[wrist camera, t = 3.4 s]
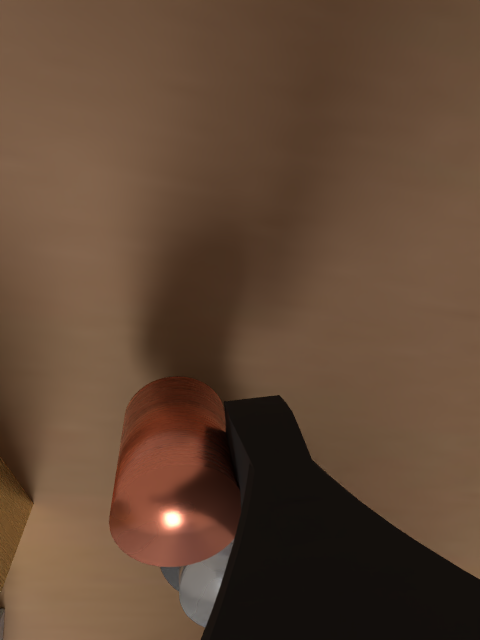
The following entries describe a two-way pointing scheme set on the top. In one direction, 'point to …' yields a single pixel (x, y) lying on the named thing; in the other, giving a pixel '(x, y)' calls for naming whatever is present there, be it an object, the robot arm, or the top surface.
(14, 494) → the block
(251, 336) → the top surface
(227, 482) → the crank
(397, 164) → the top surface
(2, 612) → the tray
